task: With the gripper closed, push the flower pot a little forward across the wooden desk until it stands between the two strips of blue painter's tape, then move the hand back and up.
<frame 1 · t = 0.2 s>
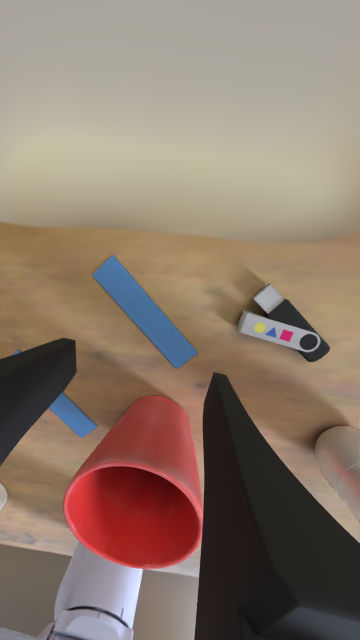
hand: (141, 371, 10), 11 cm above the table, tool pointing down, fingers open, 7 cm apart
tape lane: (95, 358, 22), on the table
plastic bottle: (336, 440, 22), on the table
flower pot: (157, 421, 24), on the table
usb flash drive: (275, 331, 20), on the table
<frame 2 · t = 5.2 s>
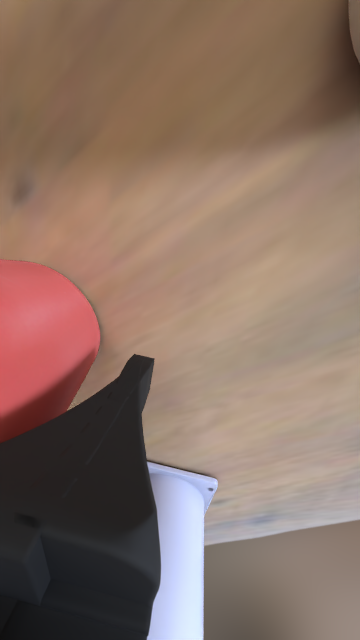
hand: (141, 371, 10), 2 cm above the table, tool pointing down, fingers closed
flower pot: (46, 322, 13), on the table, touching gripper
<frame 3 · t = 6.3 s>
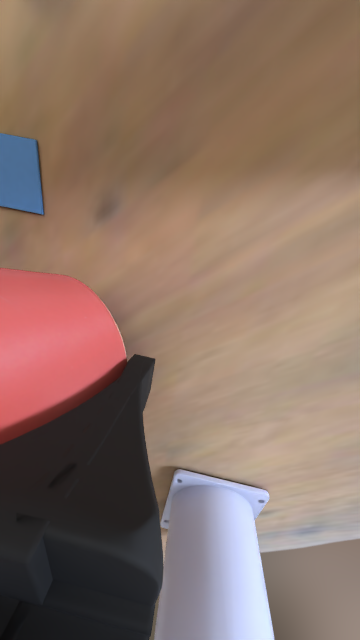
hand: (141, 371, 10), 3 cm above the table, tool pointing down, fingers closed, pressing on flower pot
flower pot: (81, 342, 12), point 1 cm above the table, touching gripper
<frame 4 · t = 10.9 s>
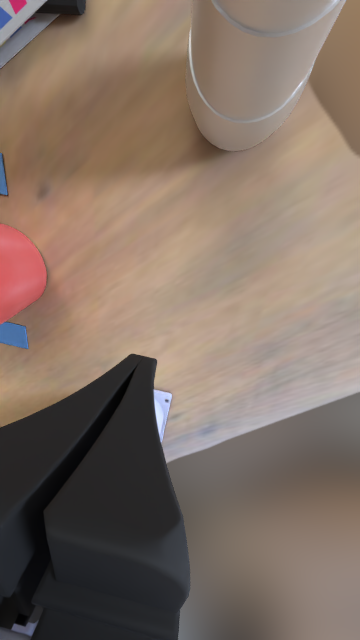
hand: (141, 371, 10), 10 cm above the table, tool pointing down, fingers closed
plastic bottle: (237, 105, 14), on the table
flower pot: (13, 266, 20), on the table
usb flash drive: (27, 26, 13), on the table
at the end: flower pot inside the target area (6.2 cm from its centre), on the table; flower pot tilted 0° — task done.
